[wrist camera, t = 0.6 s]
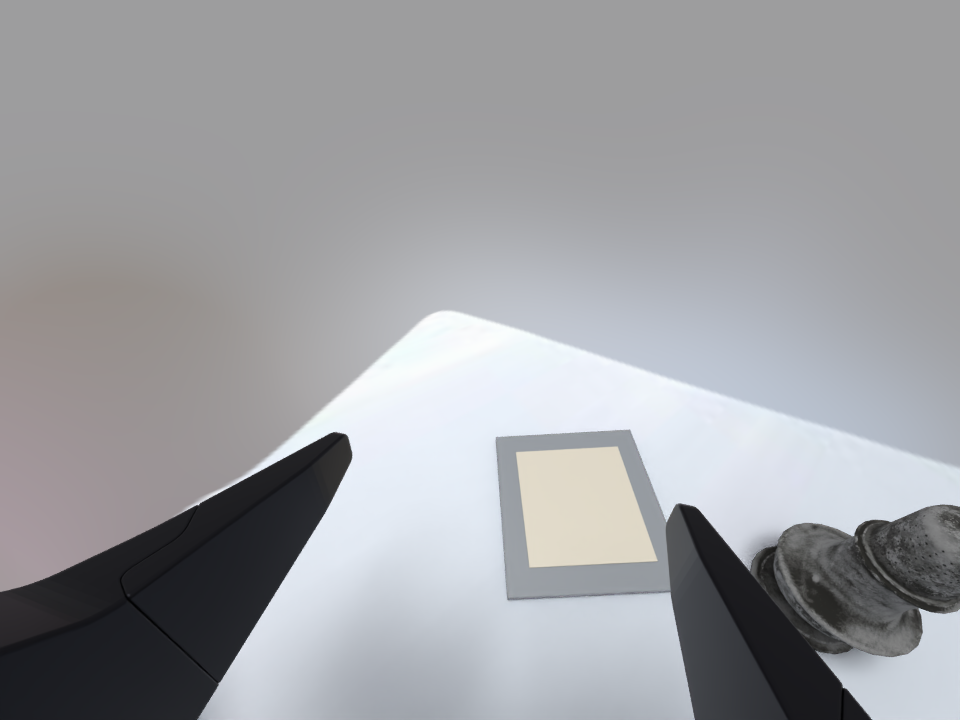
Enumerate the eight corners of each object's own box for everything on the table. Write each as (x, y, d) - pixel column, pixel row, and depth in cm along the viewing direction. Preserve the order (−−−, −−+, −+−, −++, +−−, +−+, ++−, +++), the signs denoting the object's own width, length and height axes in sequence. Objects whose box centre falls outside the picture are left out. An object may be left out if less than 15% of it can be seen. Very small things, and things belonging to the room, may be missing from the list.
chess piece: (857, 572, 21) (1105, 492, 12) (875, 689, 17) (1236, 689, 9) (746, 524, 23) (890, 427, 14) (742, 619, 20) (929, 565, 11)
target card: (688, 591, 21) (693, 588, 20) (507, 599, 21) (507, 597, 20) (628, 433, 28) (630, 429, 28) (496, 441, 29) (495, 436, 28)
